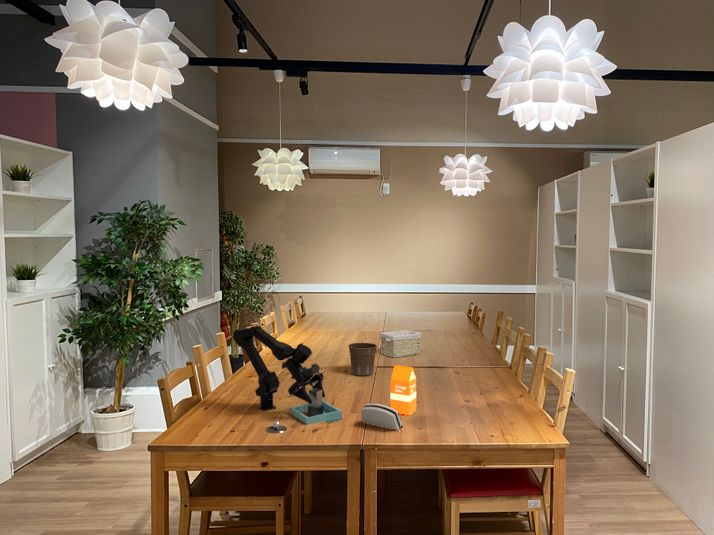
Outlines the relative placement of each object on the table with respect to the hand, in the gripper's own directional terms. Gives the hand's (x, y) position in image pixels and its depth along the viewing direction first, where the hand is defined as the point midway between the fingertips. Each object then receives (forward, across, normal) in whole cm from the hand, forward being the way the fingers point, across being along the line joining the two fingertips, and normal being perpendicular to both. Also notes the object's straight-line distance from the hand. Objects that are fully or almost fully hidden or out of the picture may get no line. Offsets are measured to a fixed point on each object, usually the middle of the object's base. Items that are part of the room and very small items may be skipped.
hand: (318, 400), depth 205 cm
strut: (+4, 0, +6) cm, 7 cm away
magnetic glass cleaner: (+24, +7, -12) cm, 28 cm away
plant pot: (-8, +71, +20) cm, 74 cm away
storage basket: (-10, +125, +22) cm, 128 cm away
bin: (+5, 0, +7) cm, 8 cm away
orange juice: (+25, +26, -13) cm, 38 cm away
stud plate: (+2, -20, +9) cm, 23 cm away
